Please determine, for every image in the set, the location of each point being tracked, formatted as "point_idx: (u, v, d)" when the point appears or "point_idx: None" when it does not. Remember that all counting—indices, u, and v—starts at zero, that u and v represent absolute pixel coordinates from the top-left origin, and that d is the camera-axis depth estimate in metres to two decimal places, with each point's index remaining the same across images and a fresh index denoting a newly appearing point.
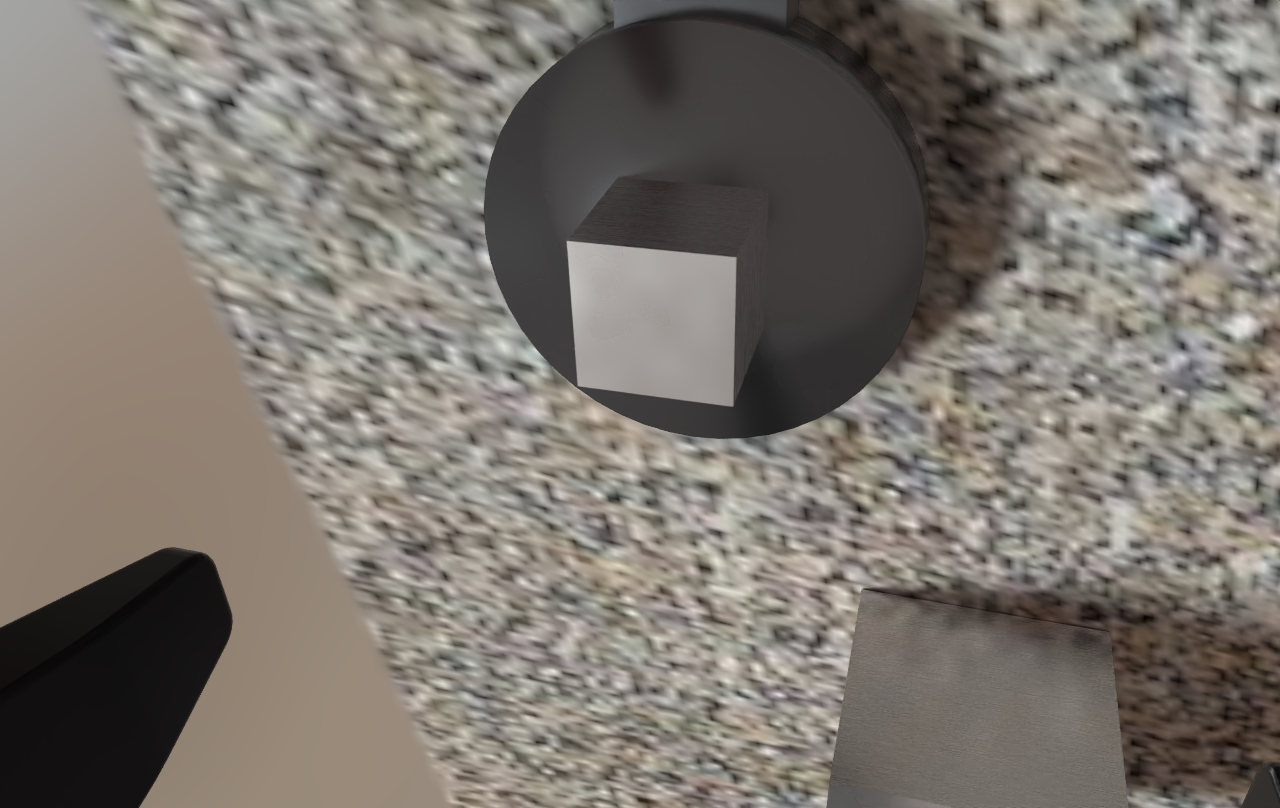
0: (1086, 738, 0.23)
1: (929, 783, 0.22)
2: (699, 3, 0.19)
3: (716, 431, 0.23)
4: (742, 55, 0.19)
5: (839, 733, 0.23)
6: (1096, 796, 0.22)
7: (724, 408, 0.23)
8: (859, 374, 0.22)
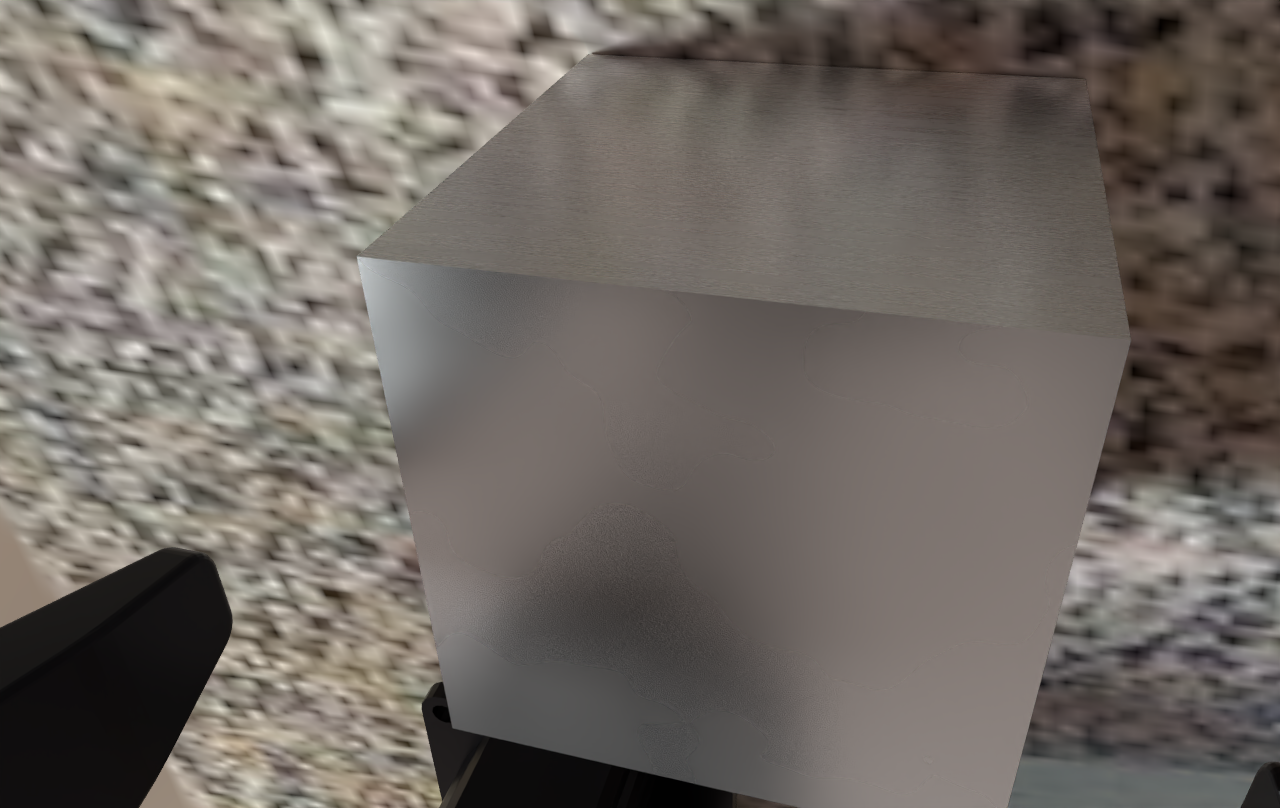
0: (1020, 190, 0.09)
1: (606, 255, 0.09)
2: None
3: None
4: None
5: (429, 197, 0.10)
6: (1035, 265, 0.08)
7: None
8: None
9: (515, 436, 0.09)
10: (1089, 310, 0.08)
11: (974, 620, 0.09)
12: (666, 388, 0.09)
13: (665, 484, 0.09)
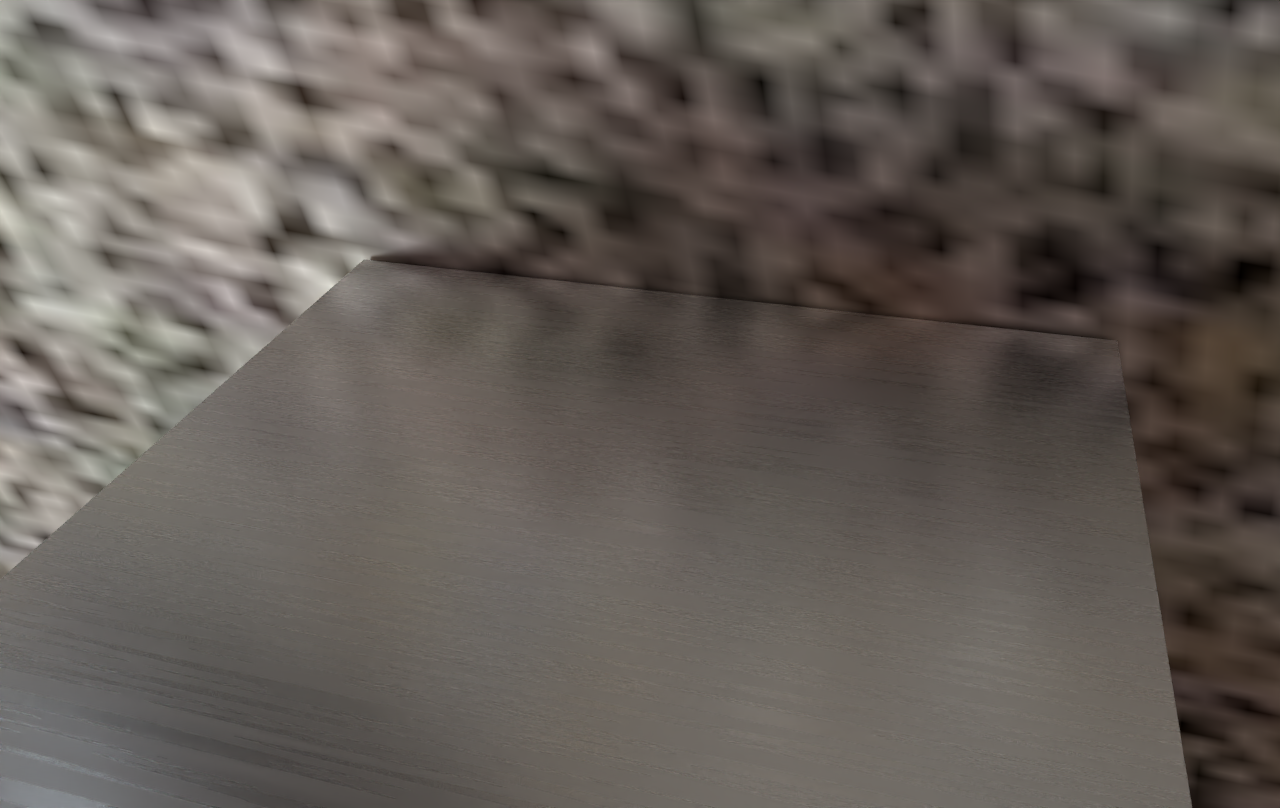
0: (1009, 691, 0.05)
1: None
2: None
3: None
4: None
5: None
6: None
7: None
8: None
9: None
10: None
11: None
12: None
13: None
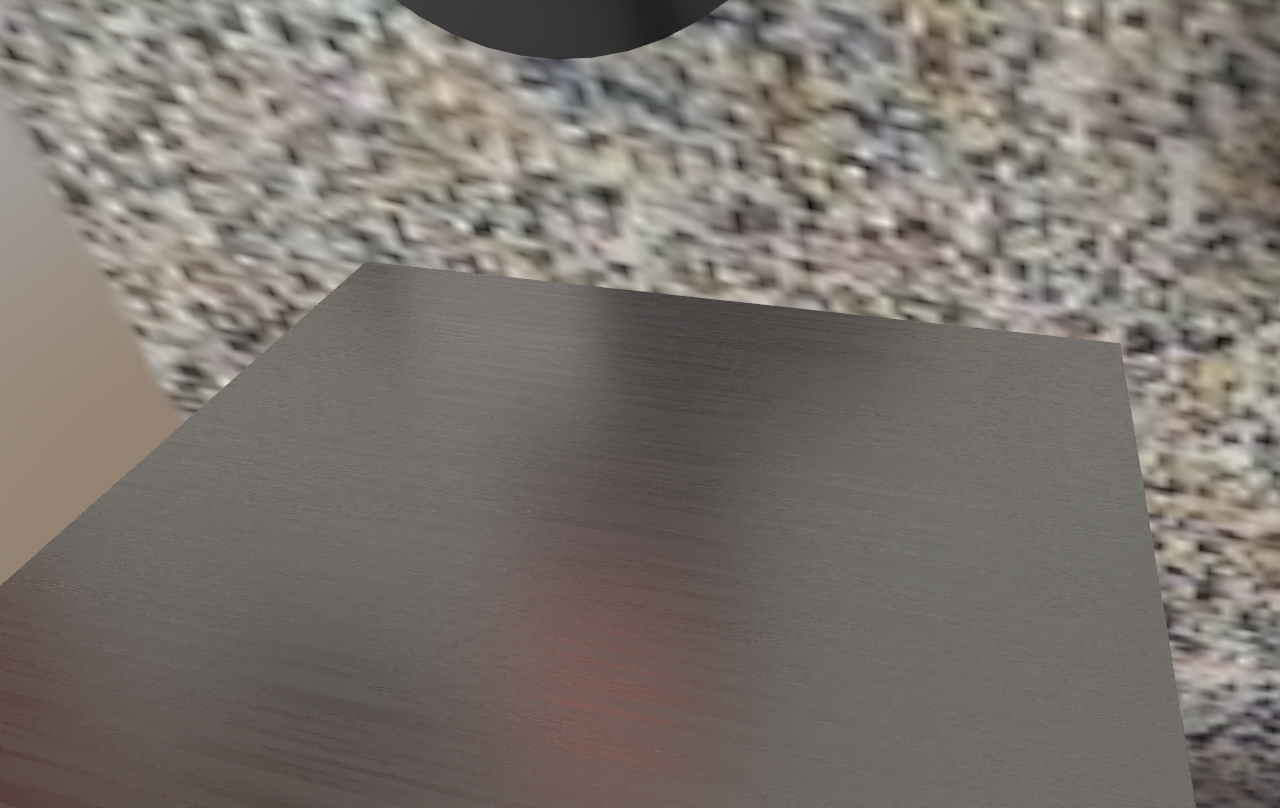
0: (1014, 696, 0.05)
1: None
2: None
3: (590, 45, 0.16)
4: None
5: None
6: None
7: (596, 0, 0.16)
8: None
9: None
10: None
11: None
12: None
13: None
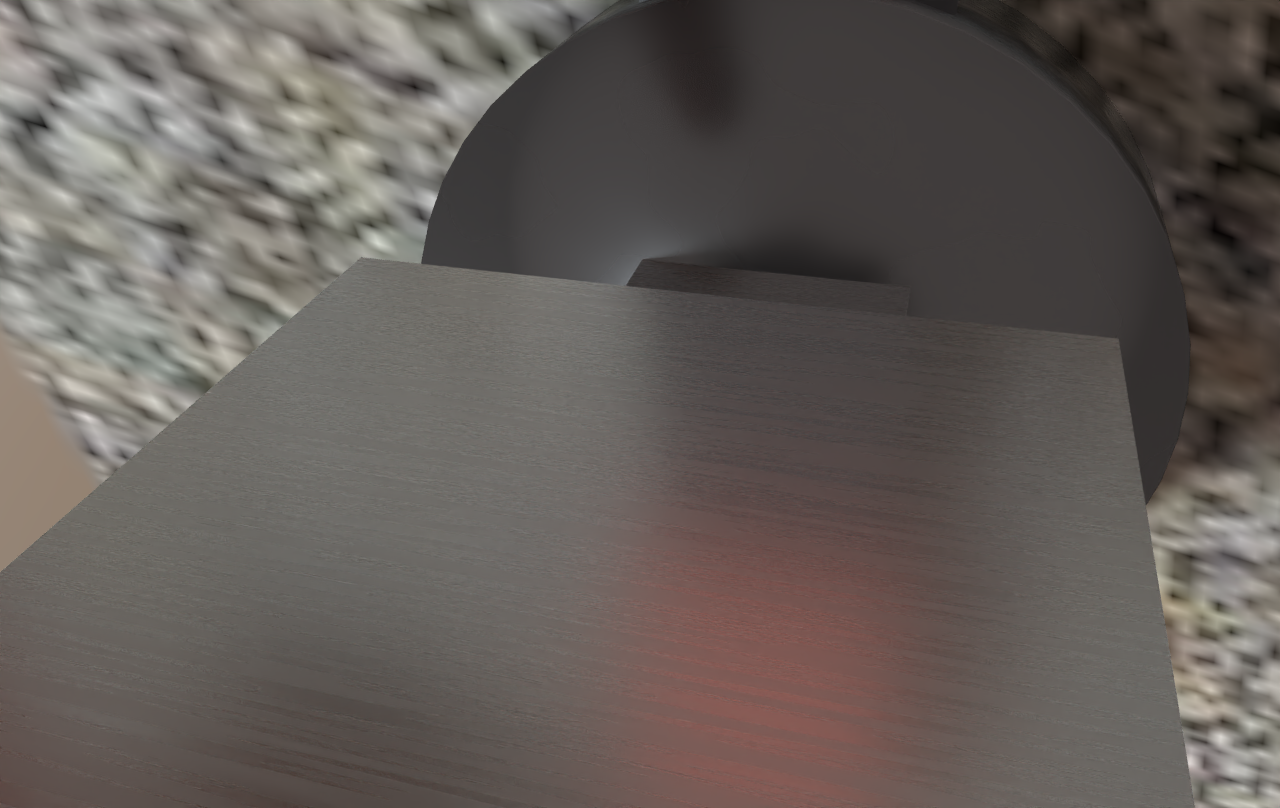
0: (1010, 690, 0.05)
1: None
2: None
3: None
4: (878, 50, 0.10)
5: None
6: None
7: None
8: None
9: None
10: None
11: None
12: None
13: None
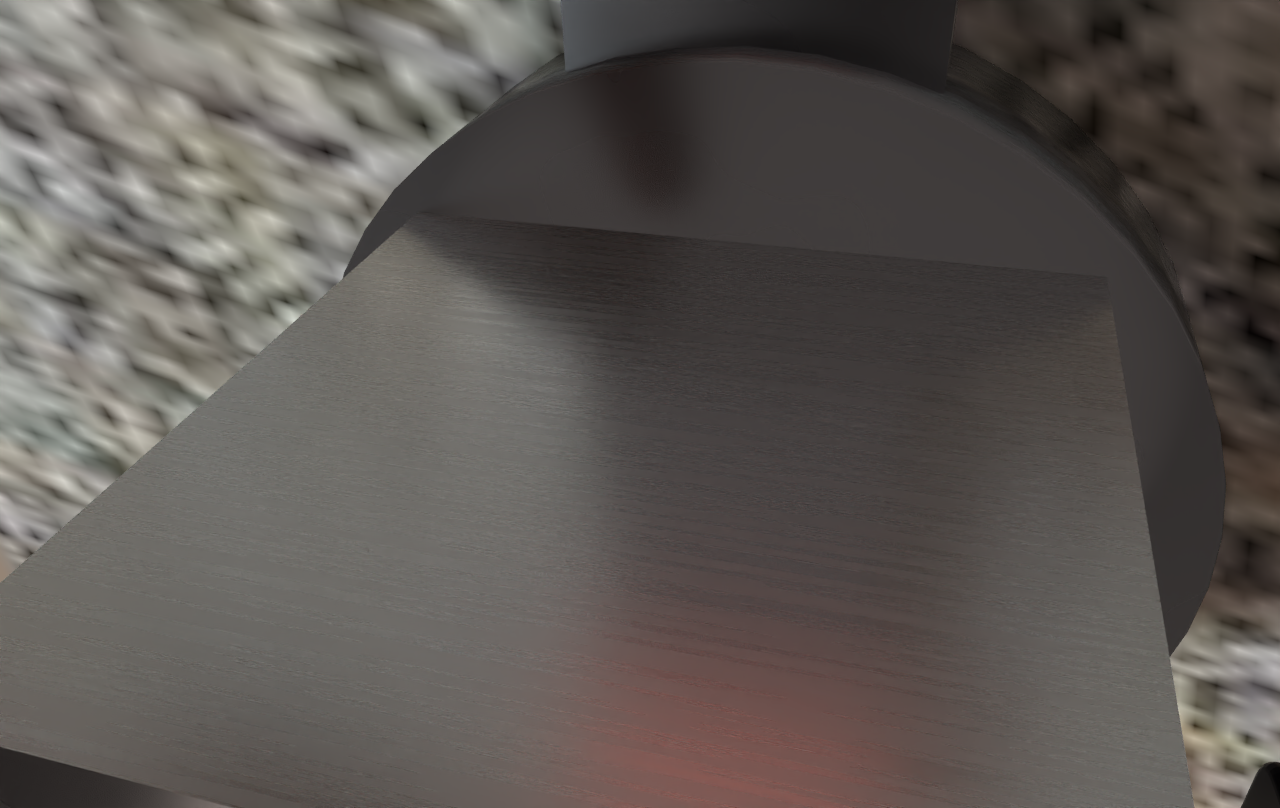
0: (1012, 549, 0.06)
1: (284, 720, 0.05)
2: (751, 19, 0.09)
3: None
4: (849, 137, 0.08)
5: (57, 539, 0.06)
6: (1039, 777, 0.05)
7: None
8: None
9: None
10: None
11: None
12: None
13: None
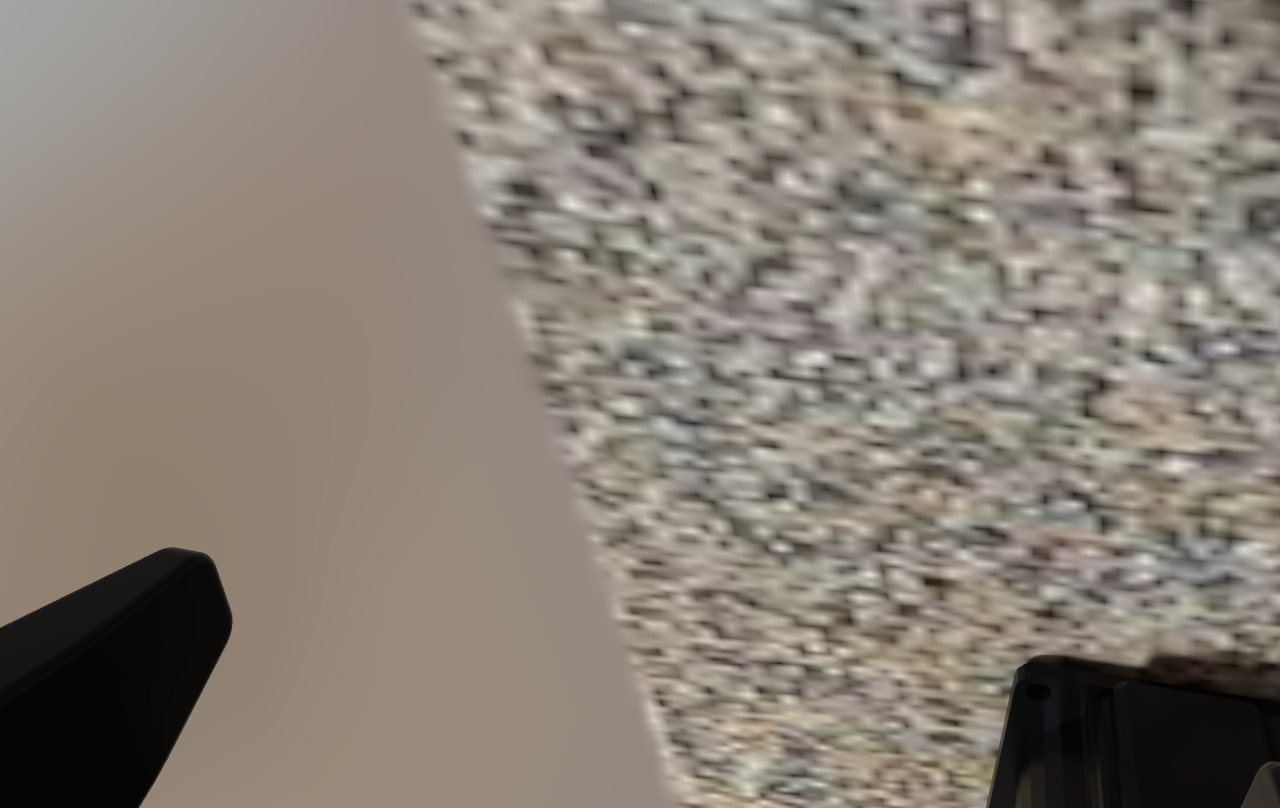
0: None
1: None
2: None
3: None
4: None
5: None
6: None
7: None
8: None
9: None
10: None
11: None
12: None
13: None
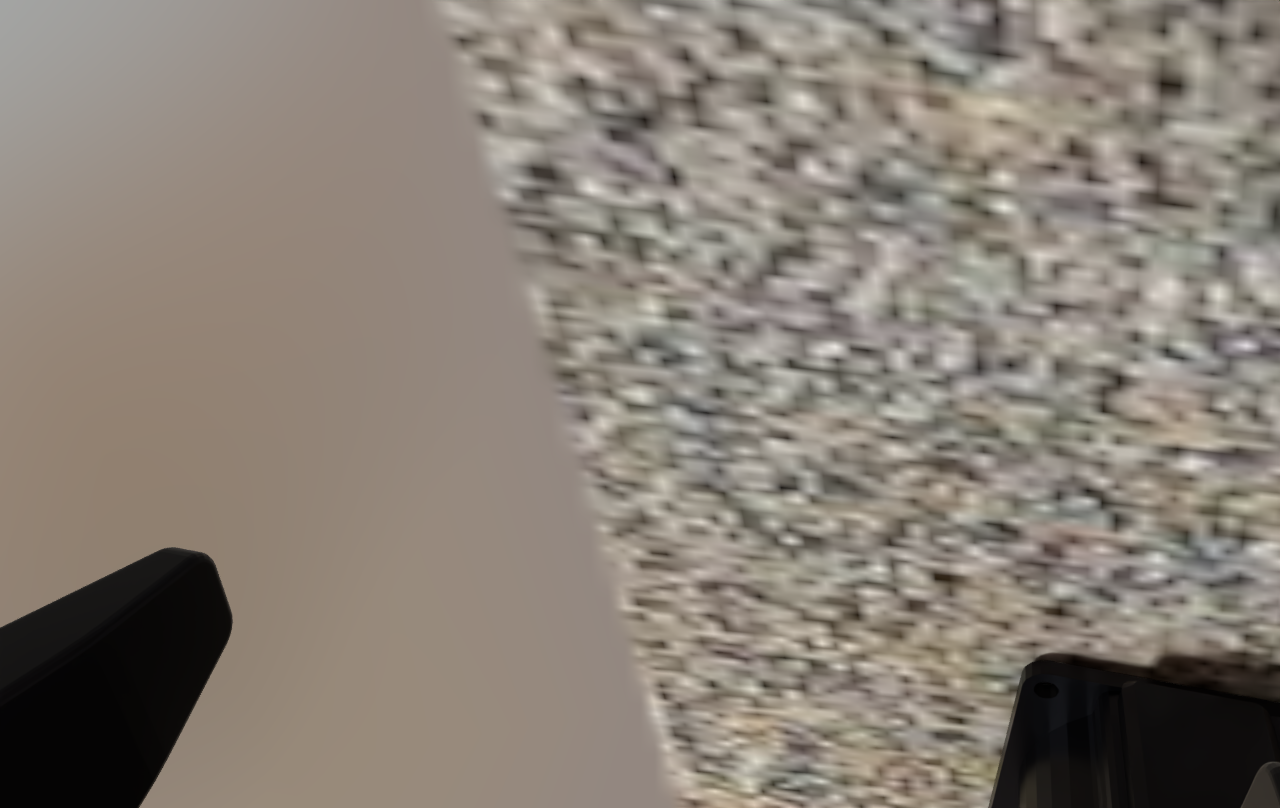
0: None
1: None
2: None
3: None
4: None
5: None
6: None
7: None
8: None
9: None
10: None
11: None
12: None
13: None
